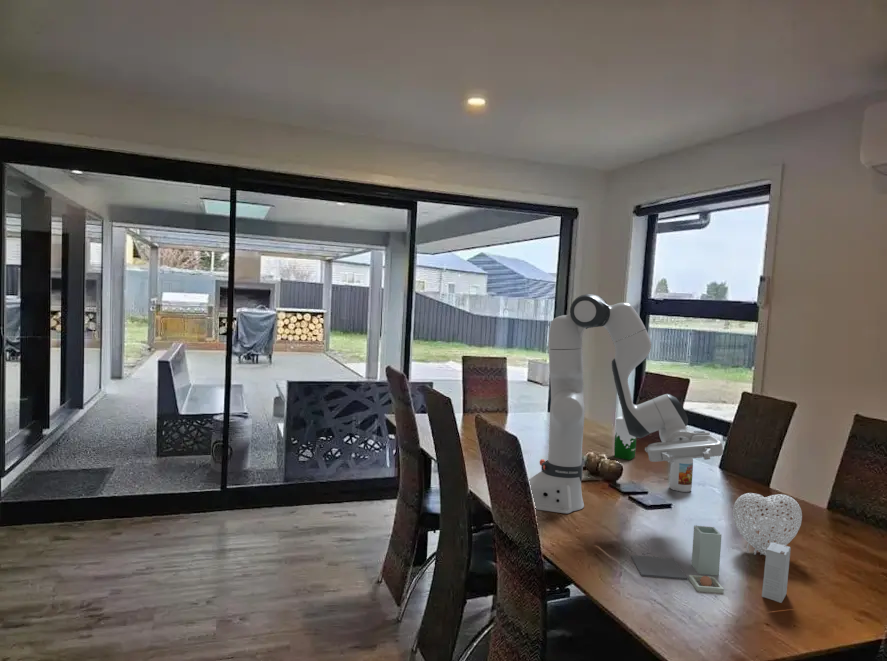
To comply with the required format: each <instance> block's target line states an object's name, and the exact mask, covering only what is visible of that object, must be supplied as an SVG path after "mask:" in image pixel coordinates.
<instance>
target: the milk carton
mask: <svg viewBox="0 0 887 661" xmlns="http://www.w3.org/2000/svg"><path fill="white" fill-rule="evenodd" d="M614 426H615V427H614V428H615V429H614V452H613V453H614V458H617V459H621V460H627V461H631V460H633V459H634V458H635V457H636V452H637V450H636V449H637V437H634V436H631V435H629V433H628V432H627V431H626V429H625V426H624V423H623V416H622V415H621V416H618V417H616V418H615V425H614Z"/></svg>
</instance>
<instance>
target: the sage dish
mask: <svg viewBox="0 0 887 661" xmlns="http://www.w3.org/2000/svg"><path fill="white" fill-rule="evenodd" d="M703 576H704V575H695V574H694V575H693V574H688V580H689V582H690V583H691V584H692V586H693V587H694V589H695V590H696V591H697V592H705V593H717V594H724V593H725V588H724V587H723V586H722V585H721V584H720V582H719V581H718V580H717V578H716V577H715V576H710V575H709V576H708V575H707V576H708V577H709V578H710V579H711V580H712V584H713V585H714V586H710V587H709V586H702V585H699V583H698V582H700V579H701V577H703Z"/></svg>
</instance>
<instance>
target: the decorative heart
mask: <svg viewBox="0 0 887 661" xmlns="http://www.w3.org/2000/svg"><path fill="white" fill-rule="evenodd" d="M732 509H733V510H732V516H733V517H732V518H733V521H734V525H735V527H736V529H737V531H738V532H739V534H740V536H741V537H742V538H743V539H744V540H745V541H746V542H747V544H746V553H747V554H749V553H750V546H751V547H753V555H754V556H755V555H757V551H758V552H759V553H760V554H759V555H760V556H761V555H764V556H765V557H766V550H767V548H768V547H769V545H770V544H771V542H772V543H777V544H781V545H785V546H788V544H789V543H791V541H792V540H793V539H794V538H795V537H796V536H797V535H798V532H799V531H800V528H801V526H802V522H803V521H802V520H803V513H802V512H803V511H802V508H801V506H800V504H799V502H797V500H795V499H794V498H793V497H791V496H790V495H787V494H783V493H781V494H779V493H778V494H771V495H769V496H765V497H764V496H763V495H762V494H760V493H753V492H747V493H744V494H741V495H740V496H738V498H737V499H736V500H735V502H734V504H733V508H732ZM766 509H767V510H766ZM762 514H763V515H762ZM758 531H759V533H758Z"/></svg>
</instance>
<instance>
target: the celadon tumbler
mask: <svg viewBox="0 0 887 661" xmlns="http://www.w3.org/2000/svg"><path fill="white" fill-rule="evenodd" d="M692 537H693V538H692V549H691V550H692V553H691V566H692V567H693V569H694V570H695V571H696V572H697V574H698V575H699V574H700V575H707V576H708V575H709V576H710V575H711V576H720V563H721V562H720V561H721V548H722V533H721V532H720V531H718V529H716V527H715V526H705V525H703V526H702V525H694V526H693V536H692Z"/></svg>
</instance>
